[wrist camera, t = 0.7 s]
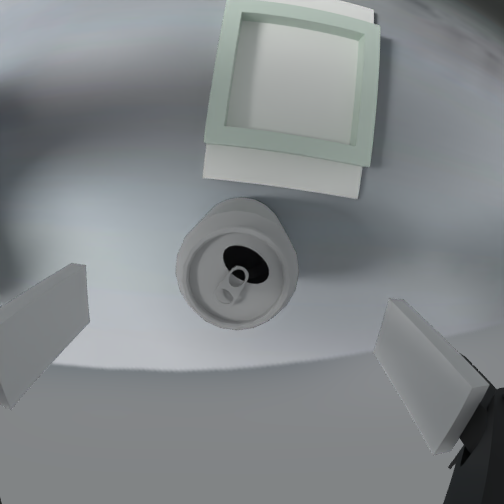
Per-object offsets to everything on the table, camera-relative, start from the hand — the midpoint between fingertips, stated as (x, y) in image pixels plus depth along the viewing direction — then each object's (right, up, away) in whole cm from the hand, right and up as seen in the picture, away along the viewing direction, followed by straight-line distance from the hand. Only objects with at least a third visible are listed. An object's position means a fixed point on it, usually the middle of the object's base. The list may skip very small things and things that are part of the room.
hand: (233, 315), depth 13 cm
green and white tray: (+5, +18, +13) cm, 23 cm away
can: (0, +4, +17) cm, 17 cm away
